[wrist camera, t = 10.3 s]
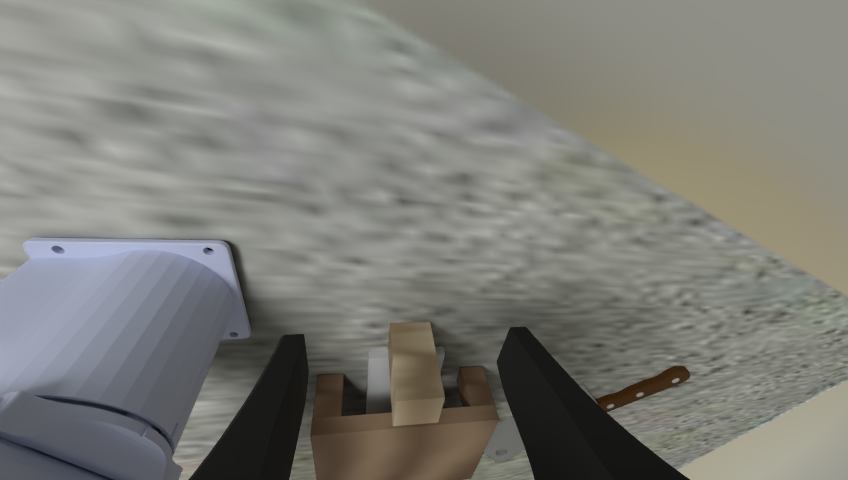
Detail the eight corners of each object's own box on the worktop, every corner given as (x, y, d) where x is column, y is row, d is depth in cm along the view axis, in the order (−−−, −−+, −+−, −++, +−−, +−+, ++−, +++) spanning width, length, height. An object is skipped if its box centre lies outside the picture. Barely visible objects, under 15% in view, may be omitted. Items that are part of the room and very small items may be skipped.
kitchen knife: (681, 339, 31) (694, 388, 36) (673, 330, 32) (687, 379, 37) (454, 434, 37) (493, 465, 42) (452, 425, 38) (491, 456, 43)
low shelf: (324, 440, 34) (319, 496, 30) (317, 375, 27) (310, 435, 24) (459, 428, 36) (471, 478, 32) (482, 366, 30) (499, 419, 26)
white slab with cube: (364, 433, 34) (364, 505, 29) (369, 323, 25) (370, 403, 20) (423, 428, 35) (432, 497, 30) (449, 321, 26) (468, 396, 21)
